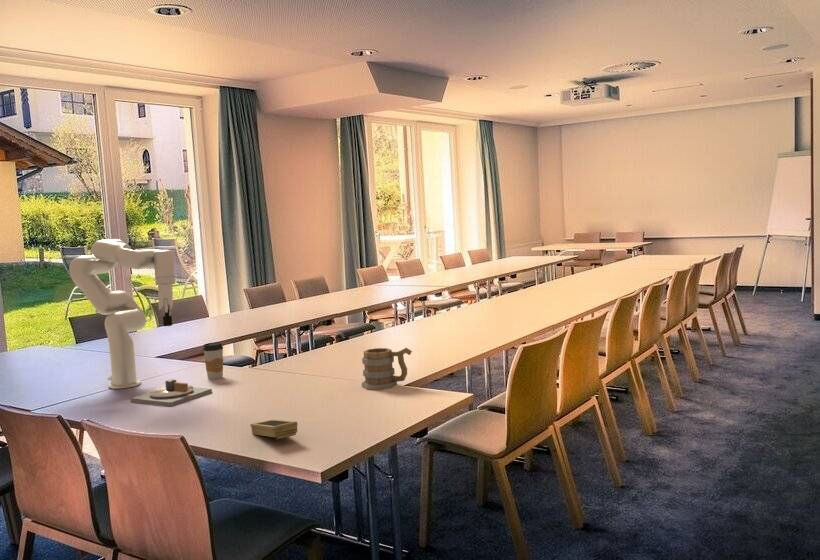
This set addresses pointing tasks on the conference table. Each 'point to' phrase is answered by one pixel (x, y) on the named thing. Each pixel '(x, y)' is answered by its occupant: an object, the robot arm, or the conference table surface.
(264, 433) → the box
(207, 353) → the coffee cup
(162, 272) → the robot arm
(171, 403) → the dial plate
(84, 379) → the conference table surface
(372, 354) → the tankard
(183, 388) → the dial
